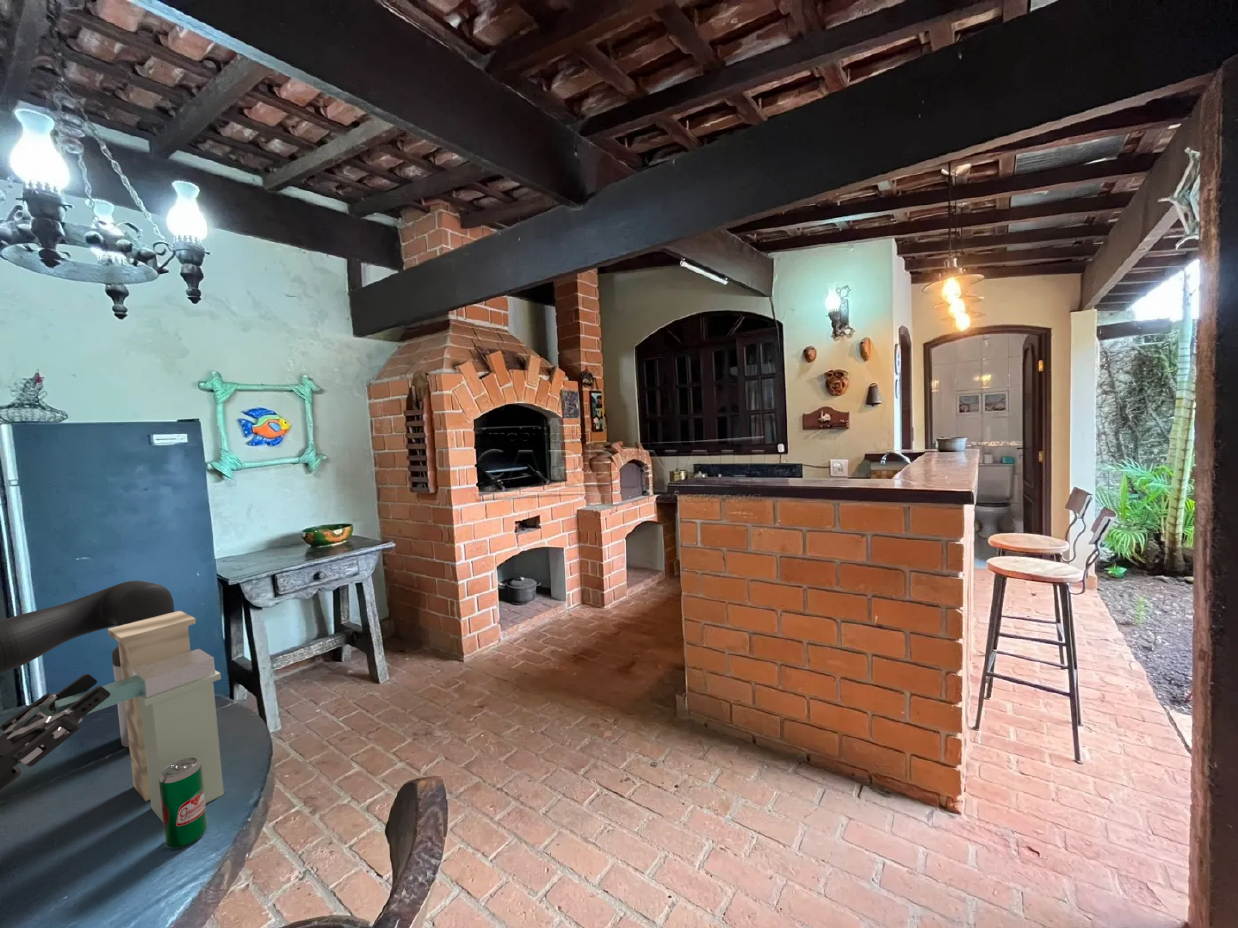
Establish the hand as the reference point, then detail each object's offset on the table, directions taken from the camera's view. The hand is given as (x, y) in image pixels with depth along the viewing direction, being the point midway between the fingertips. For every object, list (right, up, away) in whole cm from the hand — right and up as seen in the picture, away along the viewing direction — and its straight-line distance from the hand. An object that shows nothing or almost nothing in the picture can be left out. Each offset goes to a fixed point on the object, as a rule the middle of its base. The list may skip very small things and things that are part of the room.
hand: (98, 683), depth 78 cm
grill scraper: (+3, -3, +4) cm, 6 cm away
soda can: (+12, -25, +2) cm, 28 cm away
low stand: (+6, -25, +10) cm, 27 cm away
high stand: (-3, -25, +15) cm, 29 cm away
